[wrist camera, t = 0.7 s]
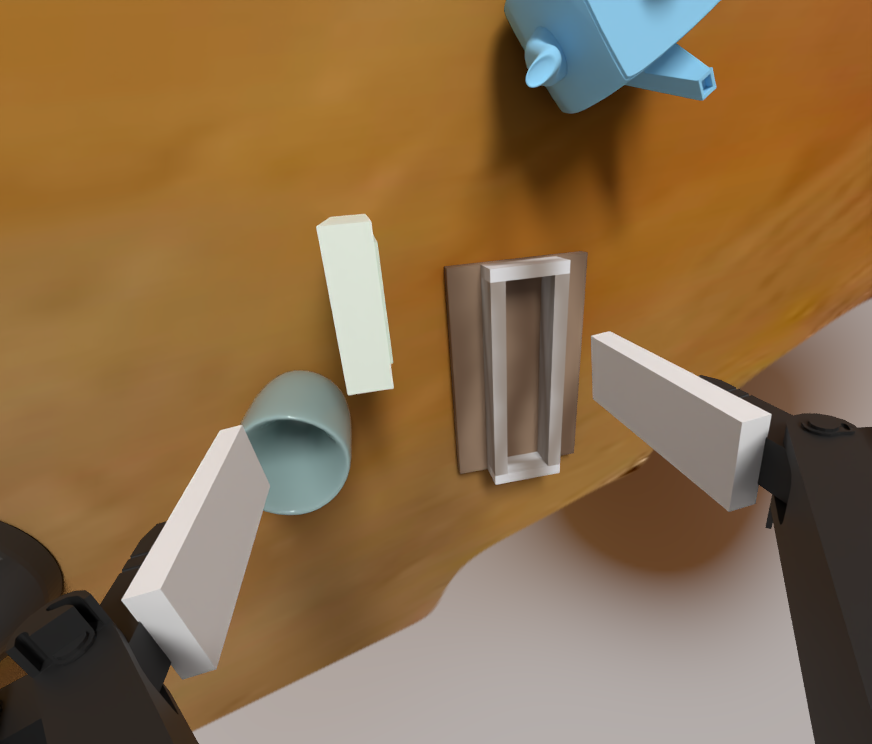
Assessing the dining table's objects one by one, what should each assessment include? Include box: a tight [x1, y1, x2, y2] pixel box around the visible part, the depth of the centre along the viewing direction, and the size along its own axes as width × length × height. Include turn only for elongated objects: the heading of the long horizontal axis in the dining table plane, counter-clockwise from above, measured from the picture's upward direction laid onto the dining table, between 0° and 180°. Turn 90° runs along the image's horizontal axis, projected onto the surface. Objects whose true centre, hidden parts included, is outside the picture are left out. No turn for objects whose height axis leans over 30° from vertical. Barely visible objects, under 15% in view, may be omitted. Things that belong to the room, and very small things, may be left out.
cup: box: [240, 370, 352, 515], centre depth 31 cm, size 8×8×10 cm
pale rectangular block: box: [316, 214, 394, 395], centre depth 27 cm, size 3×9×12 cm, turn 5°
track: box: [444, 251, 587, 485], centre depth 36 cm, size 12×20×4 cm, turn 5°
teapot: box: [504, 0, 720, 114], centre depth 24 cm, size 18×14×10 cm
